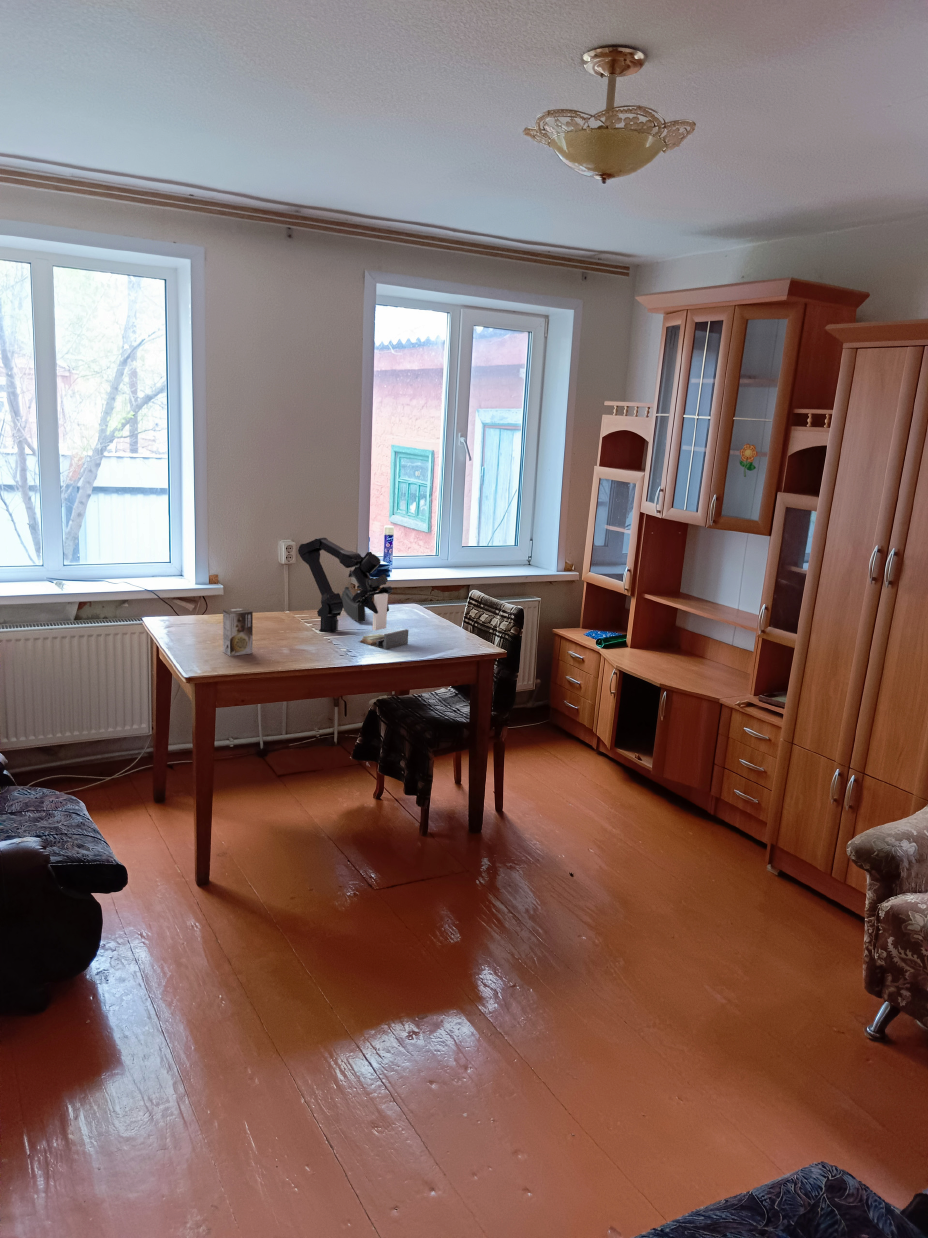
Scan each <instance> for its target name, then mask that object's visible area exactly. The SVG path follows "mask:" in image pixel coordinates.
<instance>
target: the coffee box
mask: <svg viewBox="0 0 928 1238" xmlns="http://www.w3.org/2000/svg"><path fill="white" fill-rule="evenodd" d="M253 613H254V612H253V610H251V609H249V608H247V607H243V608H242V607H240V608H232V609H231V608H230V609H223V611H222V620H223V621H222V628H223V629H222V636H223V637H222V652H223V653H224V654H226V655H227V656H229V657H232V656H241V655H246V654H253V644H254V643H253V640H254V639H253V628H254V627H253V625H254V624H253V622H254V621H253V617H254V614H253Z"/></svg>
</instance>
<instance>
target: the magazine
mask: <svg viewBox="0 0 928 1238" xmlns="http://www.w3.org/2000/svg"><path fill="white" fill-rule="evenodd" d="M340 596H341V599H342V600H343V609H342V610H343V611H344V612H345V613H346V615H347V616H348V617H349V618H351V620H353V619H354V620H353V621H356V622H359V623H364V622H366V607H364V606H363V605H360V604H359V603H360V602H361V601H360V602H359V603H357V604H354V603H353V601H352V597H353V596H354V594H353V593H352V591H351V590H350V587H349V586H345V587H344V590H342V594H341V595H340Z"/></svg>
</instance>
